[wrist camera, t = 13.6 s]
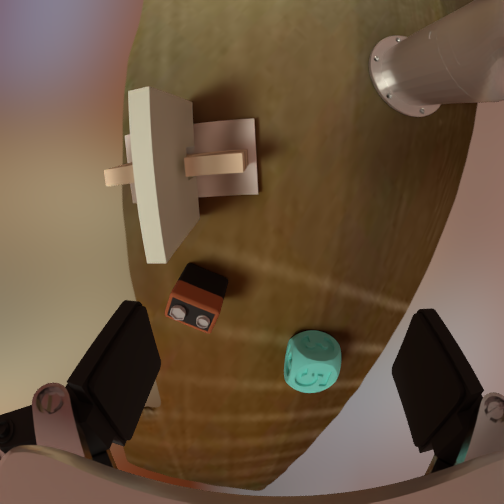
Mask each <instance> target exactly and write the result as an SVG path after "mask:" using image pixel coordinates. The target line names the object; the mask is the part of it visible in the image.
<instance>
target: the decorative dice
mask: <svg viewBox="0 0 504 504" xmlns="http://www.w3.org/2000/svg"><path fill="white" fill-rule="evenodd" d="M340 367H341V349H340V346H339V344H338V342H337V341H336V340H335V339H334V338H333V337H332V336H330V335H329V334H327V333H324V332H321V331H316V330H309V331H304V332H301V333H298V334H296V335H295V336H293V337H292V338H291V339H290V340H289V342H288V346H287V350H286V356H285V365H284V378H285V381H286V383H287V384H288V385H290V386H291V387H292V388H294V389H295V390H298V391H300V392H304V393H315V392H319V391H322V390H325V389H327V388H329V387H330V386H331V385H332V384H334V383H335V381H336V380H337V378H338V375H339V372H340Z"/></svg>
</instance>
